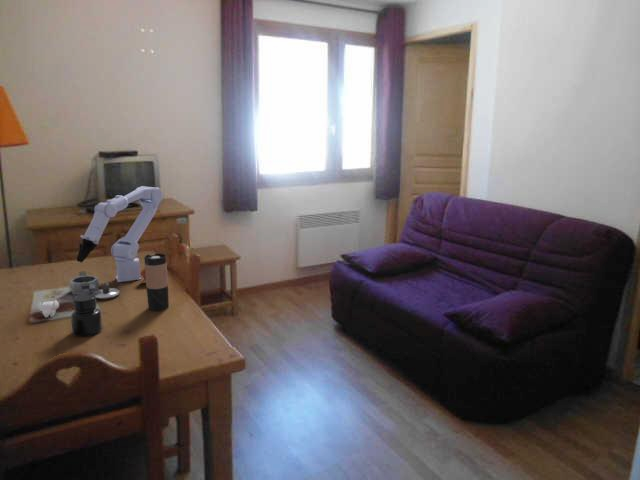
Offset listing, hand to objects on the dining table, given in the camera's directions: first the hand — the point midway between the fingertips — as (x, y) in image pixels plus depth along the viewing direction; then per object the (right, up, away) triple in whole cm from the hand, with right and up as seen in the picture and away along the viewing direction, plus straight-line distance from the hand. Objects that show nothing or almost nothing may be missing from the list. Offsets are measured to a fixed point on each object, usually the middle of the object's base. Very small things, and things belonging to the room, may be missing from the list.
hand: (80, 260), depth 196 cm
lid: (+9, -14, +2) cm, 17 cm away
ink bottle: (+17, -23, -29) cm, 41 cm away
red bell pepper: (+21, -11, +18) cm, 30 cm away
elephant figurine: (-3, -19, -17) cm, 26 cm away
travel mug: (+33, -18, -9) cm, 39 cm away
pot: (-2, -12, +9) cm, 16 cm away
